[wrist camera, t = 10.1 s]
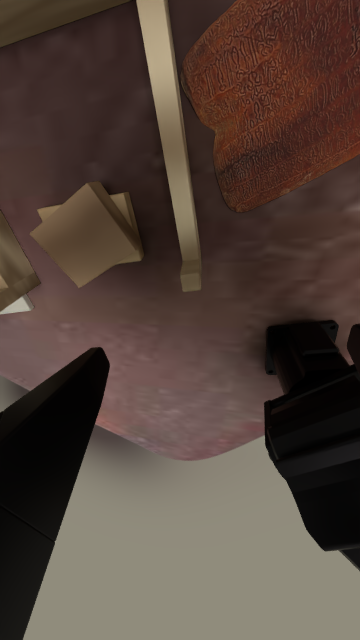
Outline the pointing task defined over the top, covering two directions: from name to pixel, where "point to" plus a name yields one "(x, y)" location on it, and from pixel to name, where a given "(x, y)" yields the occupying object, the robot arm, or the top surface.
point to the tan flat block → (87, 234)
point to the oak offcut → (127, 211)
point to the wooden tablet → (277, 94)
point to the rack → (75, 3)
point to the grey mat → (19, 305)
